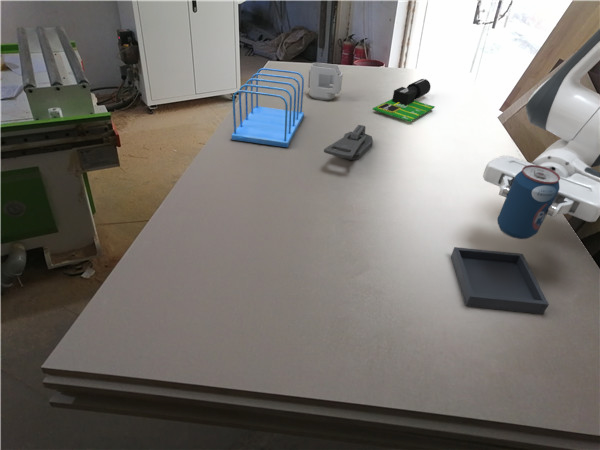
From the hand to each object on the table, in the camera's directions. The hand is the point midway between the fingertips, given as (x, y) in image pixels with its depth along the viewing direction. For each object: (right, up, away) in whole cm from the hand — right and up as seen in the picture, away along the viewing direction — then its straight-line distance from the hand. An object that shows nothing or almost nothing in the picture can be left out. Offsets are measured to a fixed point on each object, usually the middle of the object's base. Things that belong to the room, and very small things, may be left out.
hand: (527, 202), depth 70 cm
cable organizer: (-30, +44, +85) cm, 100 cm away
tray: (-2, -15, +8) cm, 17 cm away
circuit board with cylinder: (+2, +40, +81) cm, 90 cm away
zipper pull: (-25, +16, +48) cm, 56 cm away
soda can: (0, -5, +5) cm, 7 cm away
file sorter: (-49, +27, +60) cm, 82 cm away
